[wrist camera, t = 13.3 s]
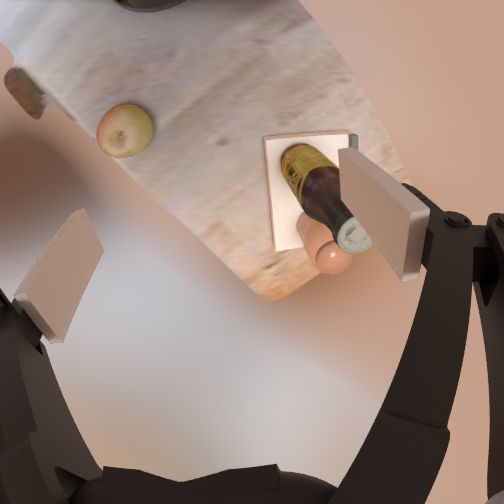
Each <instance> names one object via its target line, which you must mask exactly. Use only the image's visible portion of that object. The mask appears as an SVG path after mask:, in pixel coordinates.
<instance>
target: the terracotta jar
mask: <svg viewBox="0 0 504 504" xmlns="http://www.w3.org/2000/svg"><path fill="white" fill-rule="evenodd" d="M296 228H297V232H298V234H299V236H300V238H301V240H302V243H303V245H304V247H305V249H306V251H307V254H308V256H309V258H310V260H311V263H312V265H313V267H314V268H315V269H316V270H317V271H319V272H321V273H324V274H329V275H334V274H337V273H340V272H342V271H343V270H345V269H346V268H347V267H348V266H349V264H350V263H351V260H352V256H353V254H351V253H346V252H344V251H342V250H341V249H340V248H339V247H338V245H337V244H336V243H335V241H334V239H333V236H332V232H331V231H330V229H329V228H328V227H327V226H326V225H324V224H322V223H320V222H318V221H315V220H313V219H311V218H310V217H308V216H307V215H306V214H305V212H302V213H301V215H300V216H299V218H298V220H297V223H296Z"/></svg>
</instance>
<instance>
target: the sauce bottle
mask: <svg viewBox="0 0 504 504" xmlns="http://www.w3.org/2000/svg"><path fill="white" fill-rule="evenodd" d="M281 171H282V175H283V177H284V179H285V180H286V182H287V184H288V185H289V187H290V189H291V190H292V192H293V194H294V195H295V197H296V199H297V200H298V202H299V204H300V206H301V207H302V209H303V211H304V212H305V214H306V215H307V216H308V217H310V218H311V219H313V220H315V221H318V222H320V223H322V224H324V225H326V226H327V227H328V228H329V229H330V231H331V232H332V236H333V239H334V241H335V243H336V244H337V245H338V247H339V248H340V249H341V250H342V251H344V252H346V253H351V254H354V253H360V252H363V251H364V250H366V249H367V248H369V247H370V246H371V245H372V244H373V241H372V240H371V238H370V237H369V235H368V234H367V233H366V231H365V230H364V229H363V227H362V226H361V225H360V223H359V222H358V221H357V219H356V218H355V217H354V216H353V214H352V213H351V212H350V210H349V209H348V208H347V207H346V205H345V204H344V203H343V201H342V200H341V192H340V174H339V168H338V167H337V166H336V165H335V164H334V163H333V162H332V161H331V160H329V159H328V158H327V157H326V156H325V155H324V154H323V153H321V152H320V151H319V150H318V149H317V148H315V147H313V146H310V145H308V144H305V143H301V144H295V145H293V146H290V147H289V148H288V149H287V150H286V151H285V152H284V153H283V155H282V157H281Z"/></svg>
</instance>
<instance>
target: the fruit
mask: <svg viewBox="0 0 504 504" xmlns="http://www.w3.org/2000/svg"><path fill="white" fill-rule="evenodd" d="M152 136H153V125H152V122H151V119H150V117H149V116H148V115H147V113H146V112H145V111H144V110H142V109H141V108H139V107H137V106H135V105H132V104H121V105H117V106H115V107H113V108H112V109H110V110H109V111H108V112H107V113H106V114H105V115H104V117H103V118H102V119H101V121H100V123H99V126H98V129H97V142H98V144H99V146H100V148H101V149H102V150H103V151H104V152H105V153H107V154H108V155H110V156H113V157H116V158H125V157H130V156H133V155H135V154H137V153H139V152H141V151H142V150H143V149H144V148H145V147H146V146H147V145H148V144H149V142H150V140H151V138H152Z"/></svg>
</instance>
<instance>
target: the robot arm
mask: <svg viewBox="0 0 504 504" xmlns="http://www.w3.org/2000/svg"><path fill="white" fill-rule="evenodd" d="M113 1H114V2H116V3H117V4H119V5H120V6H122V7H124V8H126V9H129V10H132V11H138V12H154V11H160V10H164V9H168V8H171V7H173V6H176V5H178V4H180V3H182V2H184V1H186V0H113ZM338 160H339V174H340V192H341V200H342V201H343V203H344V204H345V205H346V207H347V208H348V209H349V210H350V212H351V213H352V214H353V216H354V217H355V218H356V219H357V221H358V222H359V223H360V225H361V226H362V227H363V229H364V230H365V231H366V233H367V234H368V235H369V237H370V238H371V240H372V241H373V242H374V244H375V245H376V246H377V247H378V249H379V251H380V252H381V253H382V255H383V256H384V258H385V259H386V260H387V262H388V263H389V265H390V266H391V267H392V269H393V271H394V272H395V274H396V275H397V277H398V278H399V280H400V281H401V282H402V281H405V280H409V279H413V278H416V277H419V273H420V268H421V263H422V265H423V266H424V267H425V268H426V270H427V272H426V276H425V281H424V285H423V289H422V292H421V296H420V300H419V304H418V307H417V311H416V314H415V317H414V321H413V324H412V327H411V330H410V333H409V336H408V340H407V343H406V346H405V348H404V351H403V354H402V357H401V359H400V362H399V365H398V368H397V370H396V373H395V375H394V378H393V381H392V383H391V385H390V388H389V390H388V393H387V395H386V397H385V399H384V402H383V404H382V406H381V408H380V410H379V413H378V415H377V417H376V419H375V421H374V423H373V425H372V427H371V429H370V431H369V433H368V435H367V437H366V439H365V441H364V443H363V445H362V447H361V449H360V451H359V453H358V454H357V456H356V458H355V460H354V461H353V463H352V465H351V467H350V468H349V470H348V472H347V474H346V475H345V477H344V479H343V480H342V482H341V484H340V485H339V487H338V488H337V487H335V486H333V485H331V484H329V483H328V482H325V481H323V480H321V479H318V478H316V477H312V476H309V475H305V474H300V473H294V472H283V471H280V469H279V467H278V466H277V464H273V465H266V466H258V467H249V468H239V469H228V470H225V471H221V472H219V473H215V474H211V475H208V476H205V477H200V478H197V479H193V480H189V481H185V482H177V481H173V480H170V479H166V478H163V477H160V476H156V475H153V474H150V473H147V472H144V471H141V470H136V469H124V468H115V467H107V466H103V471H102V470H101V469H100V468H99V466H98V465H97V463H96V462H95V460H94V458H93V456H92V455H91V453H90V451H89V449H88V447H87V445H86V444H85V442H84V440H83V438H82V436H81V434H80V432H79V430H78V428H77V426H76V424H75V422H74V420H73V417H72V415H71V413H70V411H69V409H68V407H67V404H66V402H65V399H64V397H63V395H62V392H61V390H60V387H59V385H58V382H57V380H56V377H55V374H54V372H53V369H52V366H51V363H50V361H49V357H48V354H47V351H46V349H45V346H44V345H43V343H42V342H41V341H40V339H41V337H42V334H43V335H44V336H45V338H46V339H47V340H48V341H49V342H50V343H51V344H53V343H63V341H64V338H65V336H66V333H67V331H68V328H69V326H70V323H71V321H72V319H73V316H74V314H75V311H76V309H77V307H78V304H79V302H80V300H81V297H82V295H83V293H84V291H85V289H86V287H87V285H88V282H89V280H90V278H91V276H92V274H93V272H94V270H95V268H96V266H97V264H98V262H99V260H100V258H101V256H102V254H103V252H104V249H103V247H102V245H101V243H100V241H99V239H98V237H97V235H96V233H95V231H94V228H93V226H92V225H91V222H90V220H89V218H88V216H87V213H86V211H85V209H84V208H83V209H80V210H77V211H74V212H73V213H72V214H71V215H70V217H69V218H68V219H67V220H66V221H65V223H64V224H63V225H62V227H61V228H60V229H59V230H58V232H57V233H56V234H55V236H54V237H53V238H52V239H51V241H50V242H49V244H48V245H47V246H46V248H45V249H44V251H43V252H42V253H41V255H40V256H39V257H38V259H37V260H36V262H35V263H34V264H33V266H32V268H31V269H30V270H29V272H28V273H27V275H26V276H25V278H24V279H23V281H22V283H21V284H20V286H19V287H18V289H17V291H16V292H15V294H14V297H15V298H14V300H13V301H12V303H10V301H9V300H8V299H7V297H6V296H5V294H4V293H3V292H2V290H1V289H0V504H425V502H426V500H427V497H428V495H429V493H430V491H431V489H432V486H433V484H434V482H435V479H436V477H437V475H438V472H439V470H440V467H441V465H442V462H443V459H444V457H445V454H446V451H447V447H448V444H449V440H450V431H449V430H448V428H447V424H448V420H449V416H450V413H451V409H452V405H453V402H454V397H455V394H456V390H457V386H458V381H459V377H460V372H461V367H462V362H463V357H464V351H465V345H466V339H467V332H468V324H469V315H470V306H471V293H472V282H473V286H474V290H475V294H476V299H477V304H478V309H479V314H480V319H481V325H482V331H483V337H484V344H485V352H486V361H487V369H488V383H489V404H490V437H489V455H488V472H487V495H488V501H487V502H486V503H485V504H504V214H500V213H492V214H490V215H489V217H488V220H487V225H486V226H484V225H472V222H471V221H470V220H469V219H468V218H467V217H466V216H464V215H463V214H460V213H457V212H452V211H446V212H444V211H443V210H441V209H440V208H439V207H438V206H437V205H436V204H434V203H433V202H432V201H431V200H429V199H428V198H427V197H426V196H425V195H422V193H421V192H420V191H419V190H417V189H416V188H415V187H413V186H410V185H408V184H406V183H402V184H400V183H399V182H398V181H397V180H395V179H394V178H393V177H392V176H390V175H389V174H388V173H386V172H385V171H384V170H383V169H381V168H380V167H379V166H377V165H376V164H375V163H373V162H372V161H371V160H369V159H368V158H367V157H365V156H364V155H362V154H361V153H360V152H358V151H357V150H355V149H354V148H353V147H349V148H341V149H338Z"/></svg>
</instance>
